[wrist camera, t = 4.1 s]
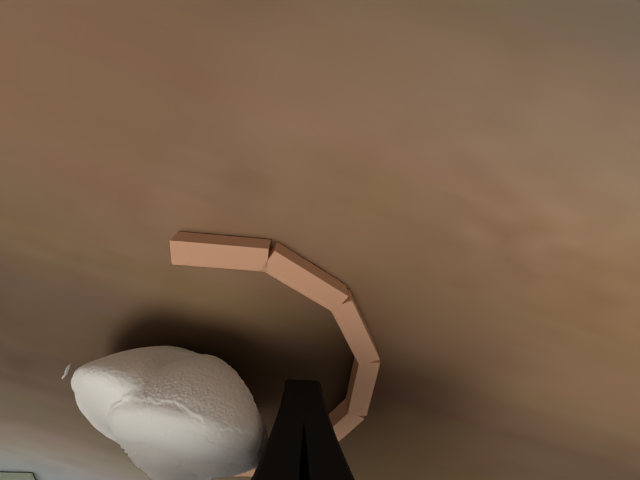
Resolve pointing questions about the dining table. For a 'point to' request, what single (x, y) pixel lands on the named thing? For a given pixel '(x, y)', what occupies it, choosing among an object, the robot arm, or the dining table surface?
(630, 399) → the dining table surface
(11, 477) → the pale green u-frame
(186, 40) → the dining table surface
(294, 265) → the segmented c-shaped arc
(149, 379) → the dumpling
